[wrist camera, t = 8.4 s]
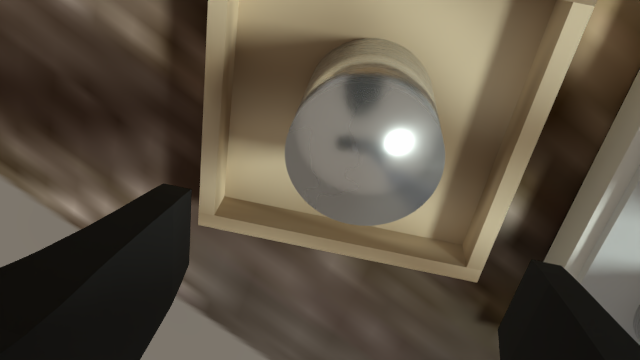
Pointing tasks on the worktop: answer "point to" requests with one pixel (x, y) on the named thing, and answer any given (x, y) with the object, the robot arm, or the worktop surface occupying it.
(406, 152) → the cylinder
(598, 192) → the scale
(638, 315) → the cylinder
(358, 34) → the tray
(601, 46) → the worktop surface
